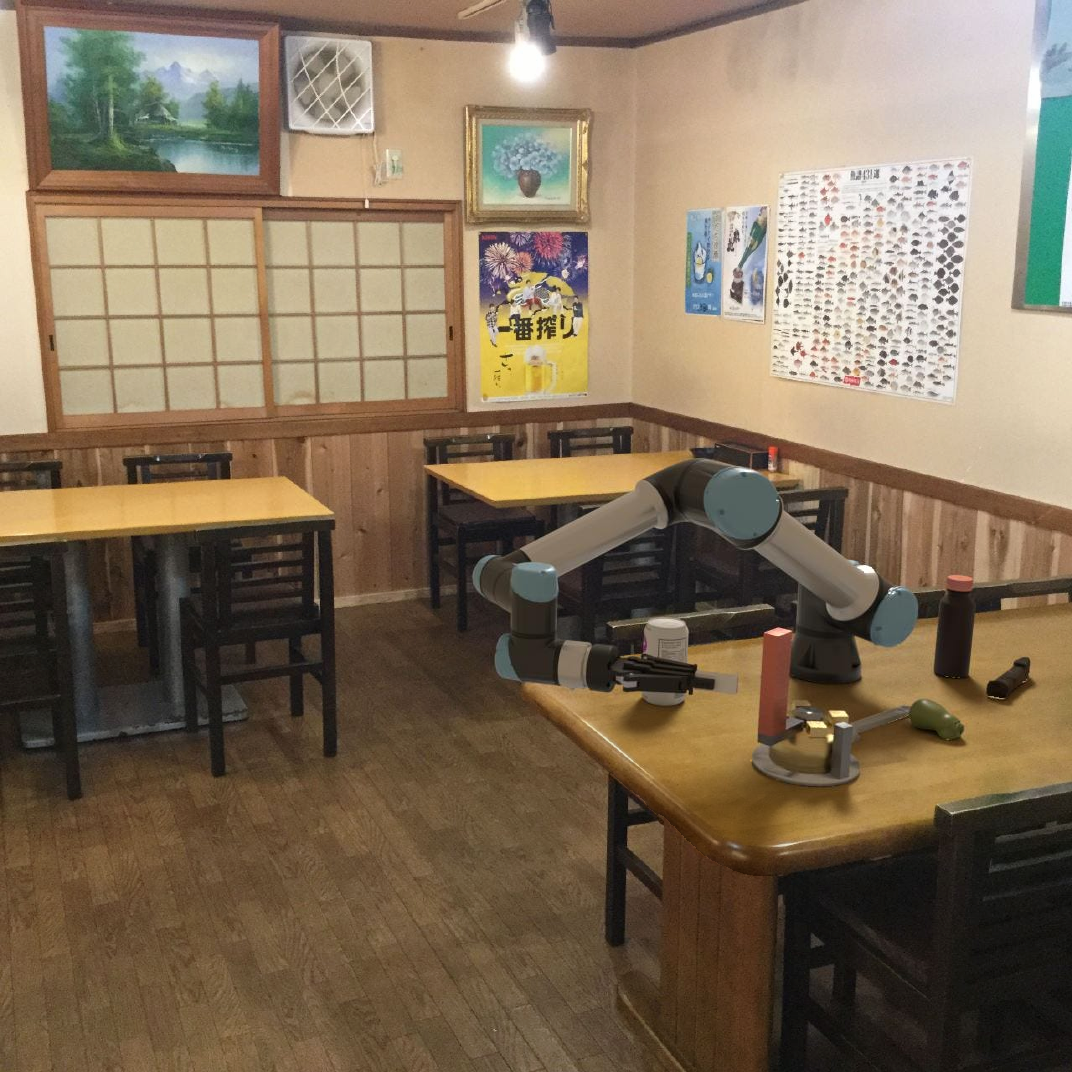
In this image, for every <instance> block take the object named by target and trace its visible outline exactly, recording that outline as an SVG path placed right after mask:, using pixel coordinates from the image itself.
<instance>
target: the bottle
mask: <svg viewBox="0 0 1072 1072" xmlns="http://www.w3.org/2000/svg"><path fill="white" fill-rule="evenodd" d="M973 584H974V578H973V577H970V576H968V575H961V574H951V575H948V576H947V577H946V591H947V594H945V596H943V597H942V598H941V599H940V601H939V609H938V617H937V618H938V619H937V626H936V627H937V629H936V639H935V650H934V651H935V652H934V660H933V661H934V662H933V671H934V672H933V673H935V674H936V673H937V674H936V675H938V676H940V675H941V676H940V677H943V676H948V677H955V678H954V679H963V678H962V677H965V678H966V676H967V677H968V676H969V674H970V667H971V666H970V665H971V655H972V649H973V648H972V645H973V639H974V637H973V636H974V628H975V627H974V626H975V615H976V607H977V605H976V603H975V601H974V600H973V598H972V597H971V593H972V592H973V587H974V585H973ZM948 677H947V678H948ZM958 677H960V678H958Z"/></svg>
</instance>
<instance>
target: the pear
mask: <svg viewBox="0 0 1072 1072" xmlns="http://www.w3.org/2000/svg"><path fill="white" fill-rule="evenodd" d="M908 719H909V720H910V722H911V724H912V725H913V726H914V727H916V728H917V729H921V730H933V731H936V733H937V734H938V737H940V738H941V739H943V738H944V739H943V740H946V739H950V740H949V741H953V740H956V739H958V738H957V737H959V738H961V737H962V736H961V735H962V734H963V733H964V732H965V725H964V724H963V723H962V722H961V720H960V719H959V718H958V717H957V716H955V715H954V714H951V713H950V712H949V711H948V710H947V709H946V708H945V707H944V706H943V705H941V704H939V703H938V702H936V701H933V700H932V699H928V698H920V699H918V700H915V701H914V702H913V703H912V704H911V707H910V710H909V716H908ZM955 738H956V739H955ZM952 739H953V740H952Z"/></svg>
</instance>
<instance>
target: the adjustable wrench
mask: <svg viewBox="0 0 1072 1072" xmlns="http://www.w3.org/2000/svg"><path fill="white" fill-rule="evenodd" d="M910 707H911V706H910V705H905V704H904V705H899V706H896V707H893V708H891V709H887V710H883V711H882V712H878V713H875V714H873V715H870V716H867V717H864V718H860V719H858V720H855V721H851V722H848V724H850V725H852V726H853V732H852V744H853V743H855V742H857V743H858V742H859V740H860V737H861V736H860V734H861V733H863V732H866V731H869V730H872V729H875V728H878V727H880V725H881V726H884V725H886V724H885V723H887V724H889V723H888V722H890V723H892V722H891V721H893V722H895V721H894V720H896V719H899V718H901V717H905V716H907V715H908V717H909V710H910ZM905 718H906V717H905ZM899 720H900V719H899ZM896 721H897V720H896ZM883 724H884V725H883Z"/></svg>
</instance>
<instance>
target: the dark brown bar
mask: <svg viewBox="0 0 1072 1072" xmlns="http://www.w3.org/2000/svg"><path fill="white" fill-rule="evenodd" d="M1013 661H1014V662H1013V663H1012V664H1013V665H1012V666H1011V667H1010V668H1009V669H1008V670H1006V671H1005V672H1004V673H1002V674H1001V675H999V676H998V677H997V678H996V679H994V680H989V681H988V683H987V684H986V688H985V689H986V692H985V693H986V695H987V697H988V696H994V697H999V698H1005V699H1004V700H1006V699H1007V698H1008V695H1010V693H1011V692H1012V691H1013V690H1016V689H1017V687H1019V685H1021V684H1023V683H1022V682H1023V681H1026V679H1027V678H1029V673H1030V672H1031V671H1030V669H1031V659H1030V657H1028V656H1021V657H1020V658H1018V659H1015V660H1013ZM1027 680H1028V679H1027ZM1026 682H1027V681H1026ZM1006 697H1007V698H1006Z"/></svg>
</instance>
